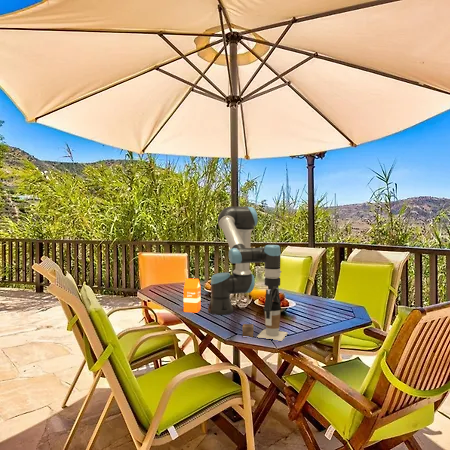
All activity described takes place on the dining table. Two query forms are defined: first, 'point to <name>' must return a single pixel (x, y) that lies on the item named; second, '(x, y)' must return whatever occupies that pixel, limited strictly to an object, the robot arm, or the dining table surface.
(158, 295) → the dining table surface
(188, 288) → the orange juice
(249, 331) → the walnut cube
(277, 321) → the coffee cup
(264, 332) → the coaster
